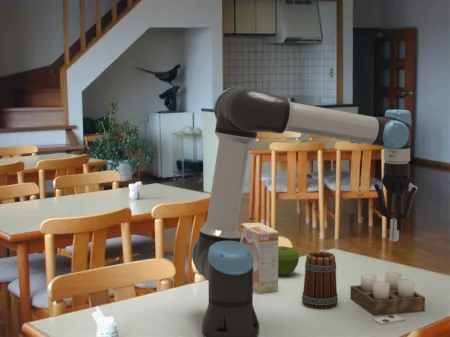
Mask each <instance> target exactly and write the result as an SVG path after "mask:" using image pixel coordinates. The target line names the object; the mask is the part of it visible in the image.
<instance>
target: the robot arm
mask: <svg viewBox="0 0 450 337" xmlns="http://www.w3.org/2000/svg"><path fill="white" fill-rule="evenodd" d="M213 105H214V106H213V109H214V110H213V113H214V116H215V119H216V123H215V129H214V134H215V136H216V137H217V138H218V145H217V153H216V159H215V165H214V172H213V178H212V183H211V190H210V199H209V203H208V204H209V205H208V210H207V217H206V223H205V225H204V226H202V227H200V229H199V233H198V239H197V240H196V241H195V243H194V244H193V247H192V249H191V250H192V251H191V258H192V263H193V265H194V267H195V269H196V271H197V272H198V273H199V274H200V275H201V276H202V277H204V278H205V280H207V282H208V305H207V308H206V311H205V315H204V316H203V319H202V323H201V334H202V335H203V336H204V337H258V335H259V333H260V324H259V323H260V322H259V320H258V316H257V314H256V311H255V308H254V307H255V306H254V303H253V302H254V301H253V300H254V299H253V297H254V295H253V294H254V290H253V263H254V260H253V252H252V250H251V248H250V247H249V246H248V245H246V244H244V243H241V232H239V230H238V229H237V228H238V221H239V215H240V210H241V204H242V197H243V192H244V184H245V176H246V171H247V164H248V158H249V153H250V152H249V151H250V148H251V147H250V146H251V144H252V143H253V142H255V141H256V140H257V138H258V137H257V136H258V133H273V134H279V135H281V134H284V133H285V132H291V133H298V134H304V135H311V136H317V137H322V138H327V139H336V140H342V141H348V142H349V143H351V144H358V145H361V144H366V145H371V146H375V147H382V148H384V149H383V150H384V151H383V161H384V163H383V171H382V172H383V176H382V179H381V181H380V182H377V183H375V184H374V185H373V186H374V189H375V191H376V194H377V199H378V204H379V210H380V215H381V216H382V217H385V218H386V221H387V222H386V224H387V225H386V228H387V230H389V241H390V242H398V241H399V240H400V239H399V238H400V237H399V236H400V231H401V230H402V229H403V220H404V219H407V218H408V217H410V213H411V210H412V206H413V202H414V198H415V195H416V193H417V191H418V190H419V186H417V185H414V184H413V183H412V181H411V179H410V169H411V164H410V163H409V162H410V161H411V140H412V139H411V138H412V127H413V126H412V114H411V111H409V110H407V109H387V110H386V111H385V113H384V116H377V117H375V116H369V115H364V114H358V113H352V112H347V111H341V110H336V109H331V108H325V107H321V106H315V105H308V104H303V103H297V102H293V101H291V100H290V98H288V97H287V96H286V97H285V96H281V95H276V94H274V93H270V92H266V91H265V90H262V89H258V88H255V87H243V86H232V87H230V88H227V89H224V90H223V91H222V92H221V93H219V94H218V95H217V97H216V99H215V102H214V104H213ZM384 188H385V190H386V191H387V202H386V197H385V192H384ZM406 190H408V194H407V198H406V202H405V206H404V195H405V192H406ZM395 196H396V217H395V215H394V212H395V211H394V210H395Z"/></svg>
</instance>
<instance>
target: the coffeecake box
mask: <svg viewBox="0 0 450 337" xmlns="http://www.w3.org/2000/svg"><path fill="white" fill-rule="evenodd" d="M240 235H241V239H240V243H244V244H246V245H248V246H249V247H250V248H251V250H252V252H253V260H254V263H253V292H255V293H256V294H258V295H264V294H270V293H271V294H272V293H278V292H279V275H278V247H279V231H278V230H275V229H274V228H272V227H270V226H268V225H265V224H264V223H261V222H260V221H259V222H244V223H243V222H242V223H240Z"/></svg>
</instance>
